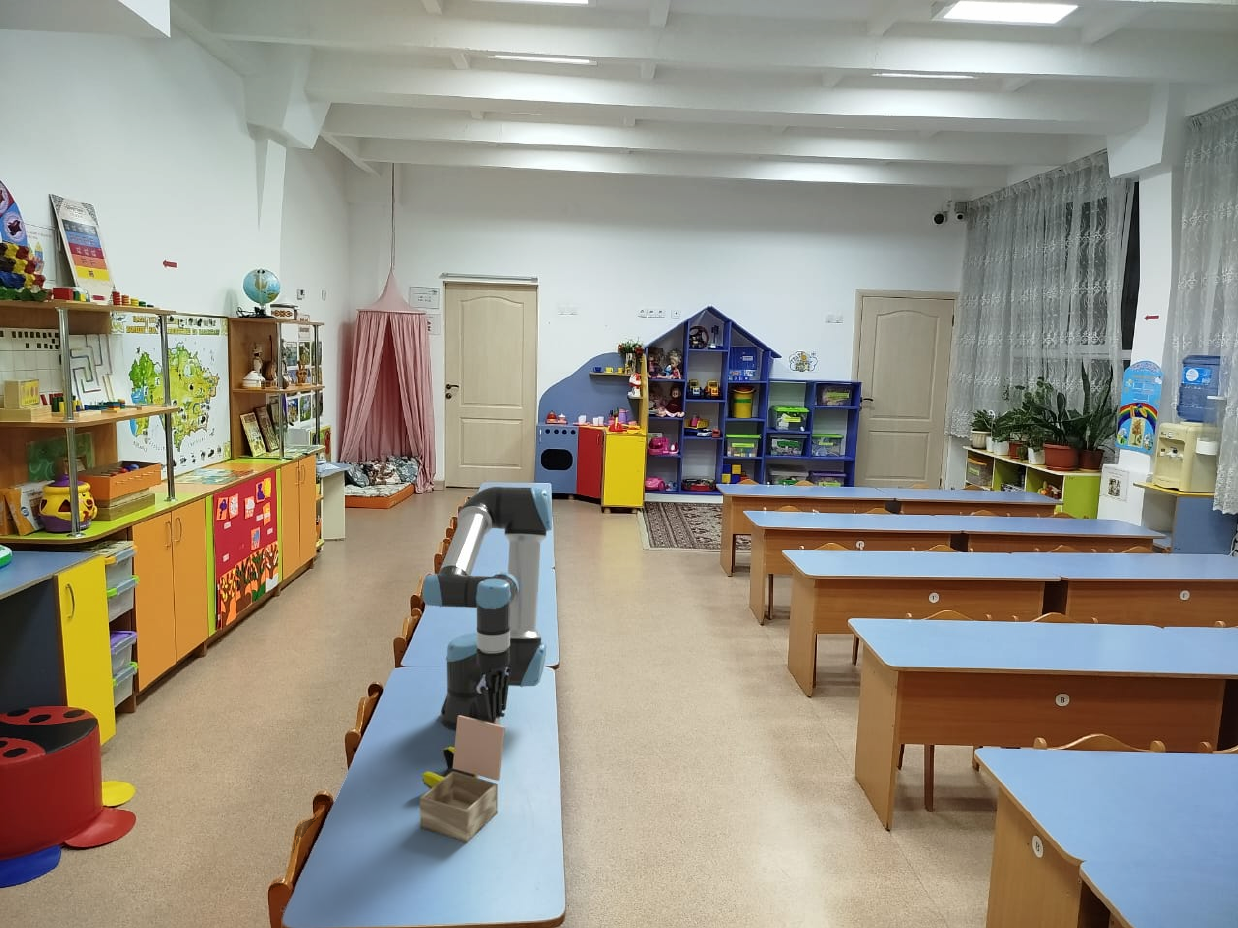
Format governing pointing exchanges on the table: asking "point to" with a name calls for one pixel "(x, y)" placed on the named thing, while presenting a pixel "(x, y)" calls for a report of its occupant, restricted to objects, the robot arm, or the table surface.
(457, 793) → the box
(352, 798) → the table surface
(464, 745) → the lid
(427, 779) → the gaming controller
